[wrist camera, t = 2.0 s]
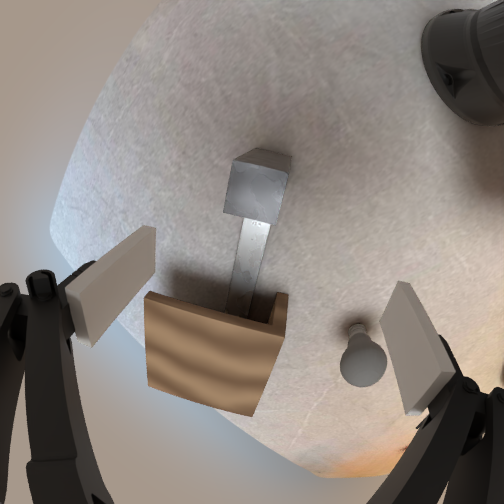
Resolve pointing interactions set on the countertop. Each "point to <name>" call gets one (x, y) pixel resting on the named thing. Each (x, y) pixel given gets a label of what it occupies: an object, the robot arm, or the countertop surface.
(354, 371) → the light bulb
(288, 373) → the countertop surface
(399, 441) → the countertop surface
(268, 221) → the l-shaped hook tool
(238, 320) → the shelf
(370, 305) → the countertop surface
